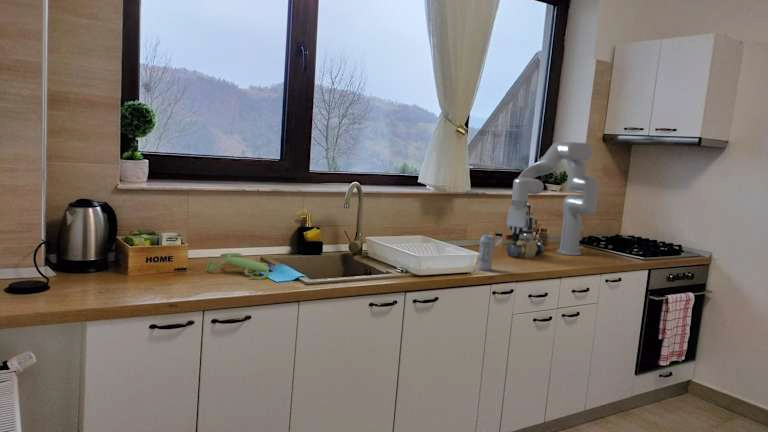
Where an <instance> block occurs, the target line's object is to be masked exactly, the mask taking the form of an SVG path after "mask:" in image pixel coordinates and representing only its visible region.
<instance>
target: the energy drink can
mask: <svg viewBox="0 0 768 432" xmlns="http://www.w3.org/2000/svg"><path fill="white" fill-rule="evenodd" d="M479 240H480V241H479V248H478V259H477V268H478V270H480V271H488V272H489V271H491V269H492V266H493V255H494V245H495V239H494V236H493V235H490V234H489V235H488V234H482V235H481V238H480V239H479ZM479 254H480V255H479Z"/></svg>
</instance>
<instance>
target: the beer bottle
mask: <svg viewBox="0 0 768 432" xmlns="http://www.w3.org/2000/svg"><path fill="white" fill-rule="evenodd" d="M527 208H529V226H528V227H527V230H526V231H522V232H521V233H520V234H523V233H529V234H532V235H533V223H532V222H531V208H532V206H531V204H530V205H529V206H527ZM519 240H524V239H519ZM515 244H517V242H516V243H515Z"/></svg>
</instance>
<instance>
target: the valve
mask: <svg viewBox="0 0 768 432" xmlns="http://www.w3.org/2000/svg"><path fill="white" fill-rule="evenodd" d="M516 243H517V244H516ZM516 243H515V242H513V243H509V244H508V245H507V247H506V253H507V255H508V256H509V257H510V258H517V257H519V258H520V257H521V258H524V259H526V258H527V259H528V258H535V256H542V255H543V254H544V253H545V246H544V243H542V242H541V241H536V240H532V239H531V240H528V239H524V240H519V241H516Z"/></svg>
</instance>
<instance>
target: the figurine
mask: <svg viewBox="0 0 768 432" xmlns="http://www.w3.org/2000/svg"><path fill="white" fill-rule="evenodd" d="M222 257H226V258H225V260H224V261H222V262H220V263H218V264H216V265H215V266H214V264H215V259H211V260H210V261H209V262H208V264H207V265H206V267H205V273H208V272H209V270H210V272H214V271H216V270H217V269H219V268H221V267H223V266H224V265H227V264H231V265H232V266H234V267H238V268H240V269H241V270H240V272H242V271H243V272H244V275H245V276H250V278H251V279H252V280H258V281H263V280H265V279H267V278H268V276H270V271H269V270H271V269H273V270H274V268H275V264H272V263H270V262H267V263H266V262H263V263H262V262H258V261H255V260H252V259H248V258H245V257H244V258H243V254H242V253H239V252H227V253H221V254H220V255H219V258H222ZM213 266H214V267H213ZM207 271H208V272H207ZM248 271H251V272H252V273H249V272H248ZM260 272H261V273H263V272H264V273H265V274H264V275H262V276H260V277H259V276H258V275H260V274H261V273H260ZM254 275H257V276H254Z"/></svg>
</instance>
